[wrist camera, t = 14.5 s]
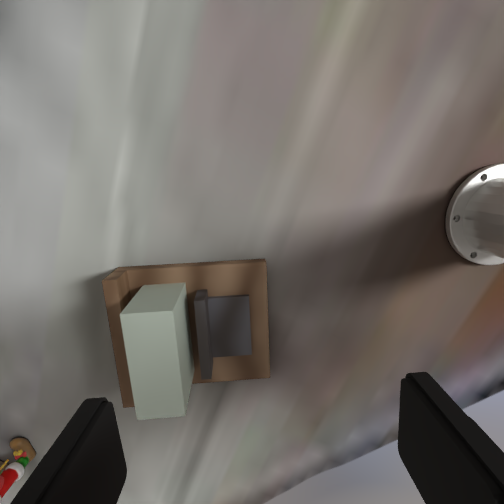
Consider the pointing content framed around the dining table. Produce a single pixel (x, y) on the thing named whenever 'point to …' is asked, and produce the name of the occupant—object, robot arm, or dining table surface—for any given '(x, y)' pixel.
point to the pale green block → (159, 350)
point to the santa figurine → (15, 464)
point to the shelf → (203, 316)
